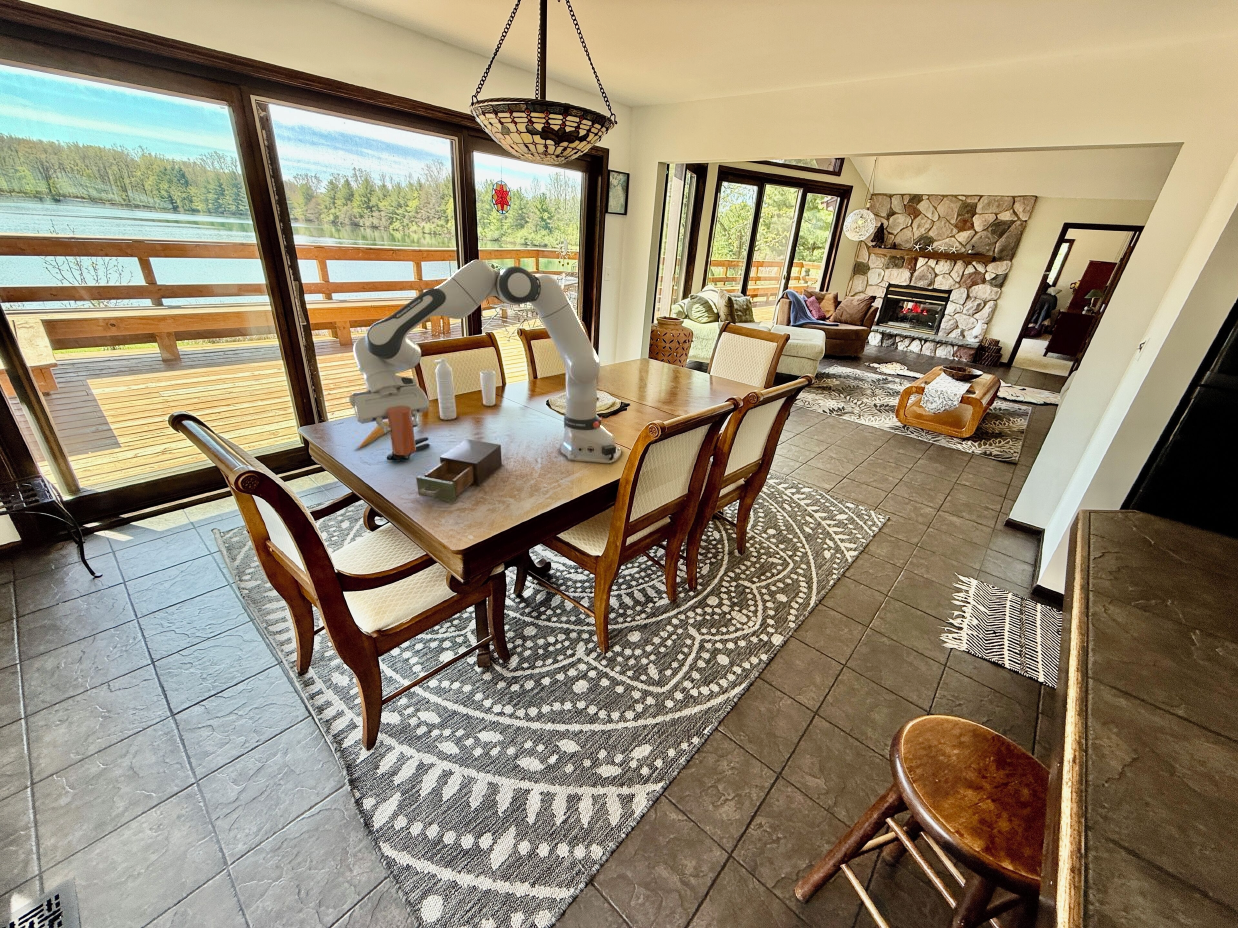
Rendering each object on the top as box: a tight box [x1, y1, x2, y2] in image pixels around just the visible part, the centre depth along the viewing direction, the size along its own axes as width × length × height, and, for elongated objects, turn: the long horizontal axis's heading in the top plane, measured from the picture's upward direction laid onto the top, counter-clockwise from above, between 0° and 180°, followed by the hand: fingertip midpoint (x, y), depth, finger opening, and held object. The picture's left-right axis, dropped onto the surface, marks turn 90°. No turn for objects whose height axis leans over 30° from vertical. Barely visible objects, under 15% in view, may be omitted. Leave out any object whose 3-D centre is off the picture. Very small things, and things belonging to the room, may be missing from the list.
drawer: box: [415, 460, 475, 503], centre depth 143 cm, size 19×12×6 cm, turn 165°
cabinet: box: [439, 438, 503, 487], centre depth 157 cm, size 16×13×8 cm
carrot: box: [357, 420, 389, 450], centre depth 176 cm, size 20×4×4 cm, turn 174°
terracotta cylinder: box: [386, 406, 417, 455], centre depth 140 cm, size 6×6×13 cm
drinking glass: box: [479, 369, 497, 407], centre depth 216 cm, size 7×7×15 cm
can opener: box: [386, 436, 431, 462], centre depth 166 cm, size 18×7×6 cm, turn 159°
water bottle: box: [434, 357, 457, 421], centre depth 195 cm, size 9×6×25 cm
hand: (402, 429), depth 140 cm, fingers closed on terracotta cylinder, 6 cm apart
